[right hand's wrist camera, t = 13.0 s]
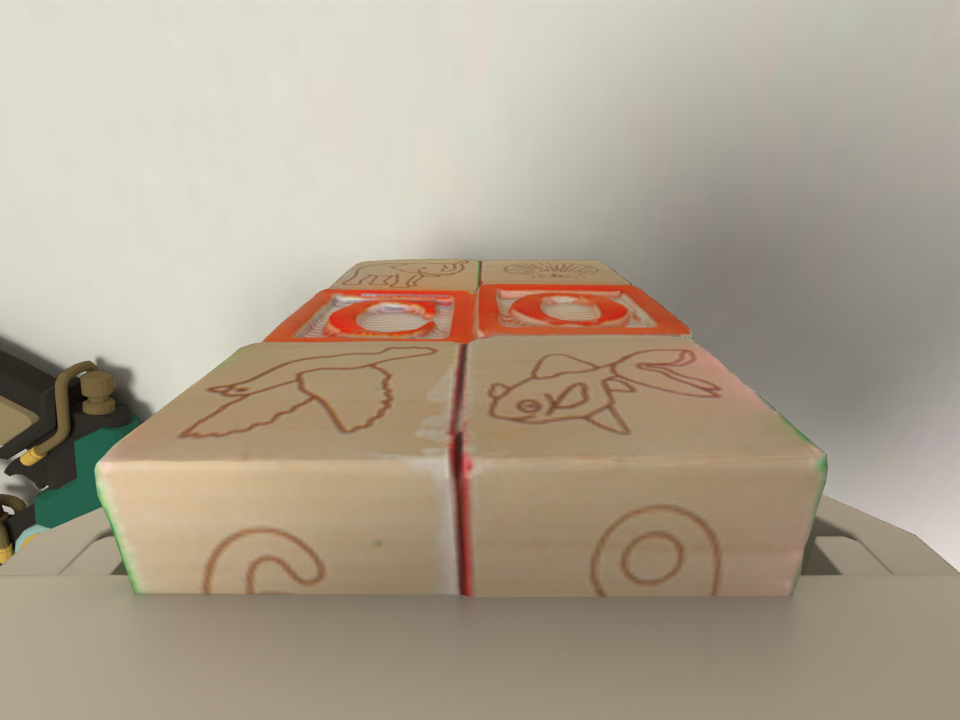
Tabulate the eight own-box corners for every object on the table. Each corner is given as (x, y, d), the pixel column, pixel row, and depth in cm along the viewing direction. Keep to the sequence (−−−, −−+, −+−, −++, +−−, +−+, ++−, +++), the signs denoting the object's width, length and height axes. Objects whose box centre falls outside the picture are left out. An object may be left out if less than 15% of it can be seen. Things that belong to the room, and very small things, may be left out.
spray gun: (-103, 273, 22) (248, 400, 24) (-138, 572, 26) (162, 650, 29) (-229, 292, 18) (208, 441, 20) (-246, 642, 22) (116, 725, 25)
